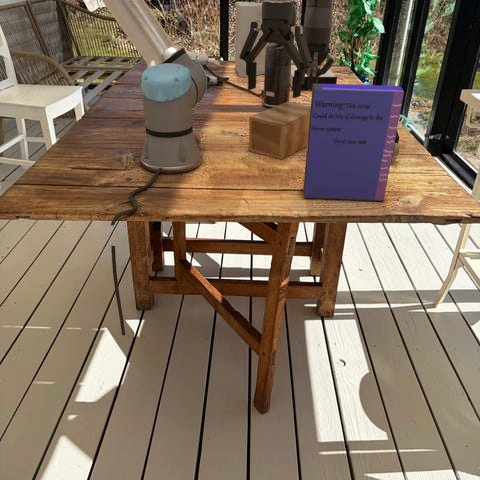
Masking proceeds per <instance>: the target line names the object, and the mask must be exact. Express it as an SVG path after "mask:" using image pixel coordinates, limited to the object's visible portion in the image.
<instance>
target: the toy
mask: <svg viewBox="0 0 480 480" xmlns="http://www.w3.org/2000/svg"><path fill="white" fill-rule="evenodd" d="M185 51H186V52H187V54H188V55H189V57H190V58H191V59H193V60H195V61H197V62H198V63H199V64H200V65H201V66H202V67H203V68H204V65H206V66H207V65H209V64H214V65H215V67H216V66H217V67H218V68H219V67H220V66H221V63H220V62H219V60H216V59H215V58H209V56H208V55H207V54H204V53H203V52H202V51H199V52H198V53H195V52H192V51H189V50H185Z"/></svg>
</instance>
